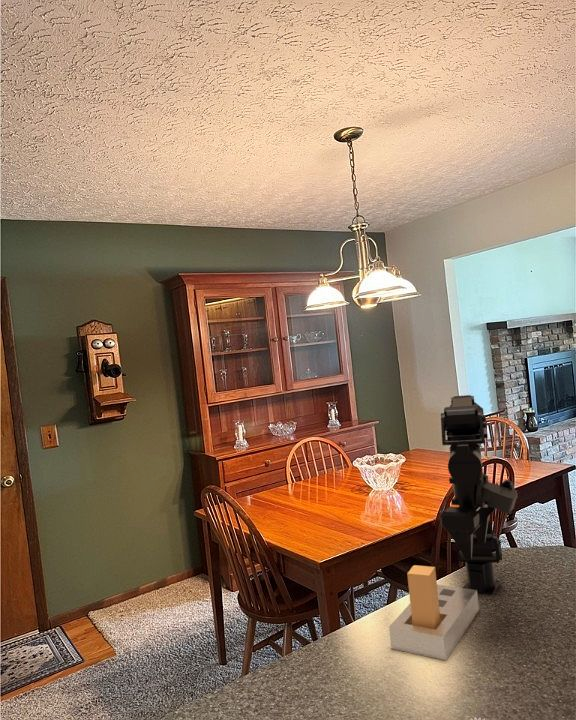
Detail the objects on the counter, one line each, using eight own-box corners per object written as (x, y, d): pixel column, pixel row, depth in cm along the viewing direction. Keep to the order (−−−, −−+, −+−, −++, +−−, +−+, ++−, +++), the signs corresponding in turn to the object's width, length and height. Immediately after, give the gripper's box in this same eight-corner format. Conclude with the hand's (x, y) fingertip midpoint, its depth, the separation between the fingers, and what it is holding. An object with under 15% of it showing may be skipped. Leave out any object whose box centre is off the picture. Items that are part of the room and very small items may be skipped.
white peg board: (430, 602, 119) (428, 582, 119) (478, 610, 113) (476, 589, 113) (391, 648, 102) (388, 626, 102) (445, 660, 96) (443, 636, 96)
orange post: (420, 634, 106) (413, 565, 106) (442, 637, 104) (435, 567, 104) (414, 645, 102) (407, 573, 102) (436, 648, 101) (429, 575, 100)
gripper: (497, 484, 97) (507, 574, 97) (521, 461, 113) (530, 539, 113) (434, 481, 103) (443, 566, 104) (465, 460, 119) (473, 534, 119)
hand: (475, 551), depth 110 cm, fingers open, 9 cm apart
